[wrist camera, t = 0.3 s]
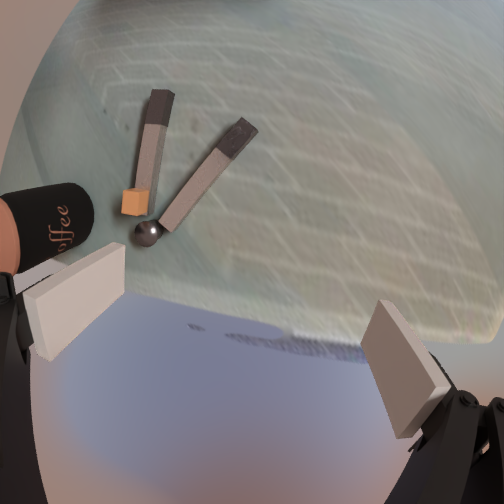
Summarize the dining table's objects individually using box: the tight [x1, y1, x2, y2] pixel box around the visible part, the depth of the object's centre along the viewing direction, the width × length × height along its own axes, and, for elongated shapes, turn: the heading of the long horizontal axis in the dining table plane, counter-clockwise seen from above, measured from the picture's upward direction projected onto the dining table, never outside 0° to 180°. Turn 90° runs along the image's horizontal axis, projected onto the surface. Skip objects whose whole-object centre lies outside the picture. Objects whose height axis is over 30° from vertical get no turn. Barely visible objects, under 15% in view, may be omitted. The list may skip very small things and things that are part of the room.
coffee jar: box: [0, 183, 94, 276], centre depth 31 cm, size 11×11×18 cm
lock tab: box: [121, 188, 149, 216], centre depth 34 cm, size 3×2×3 cm
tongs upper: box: [158, 117, 258, 233], centre depth 35 cm, size 18×2×2 cm, turn 139°
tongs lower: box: [135, 89, 175, 247], centre depth 35 cm, size 22×4×3 cm, turn 169°
